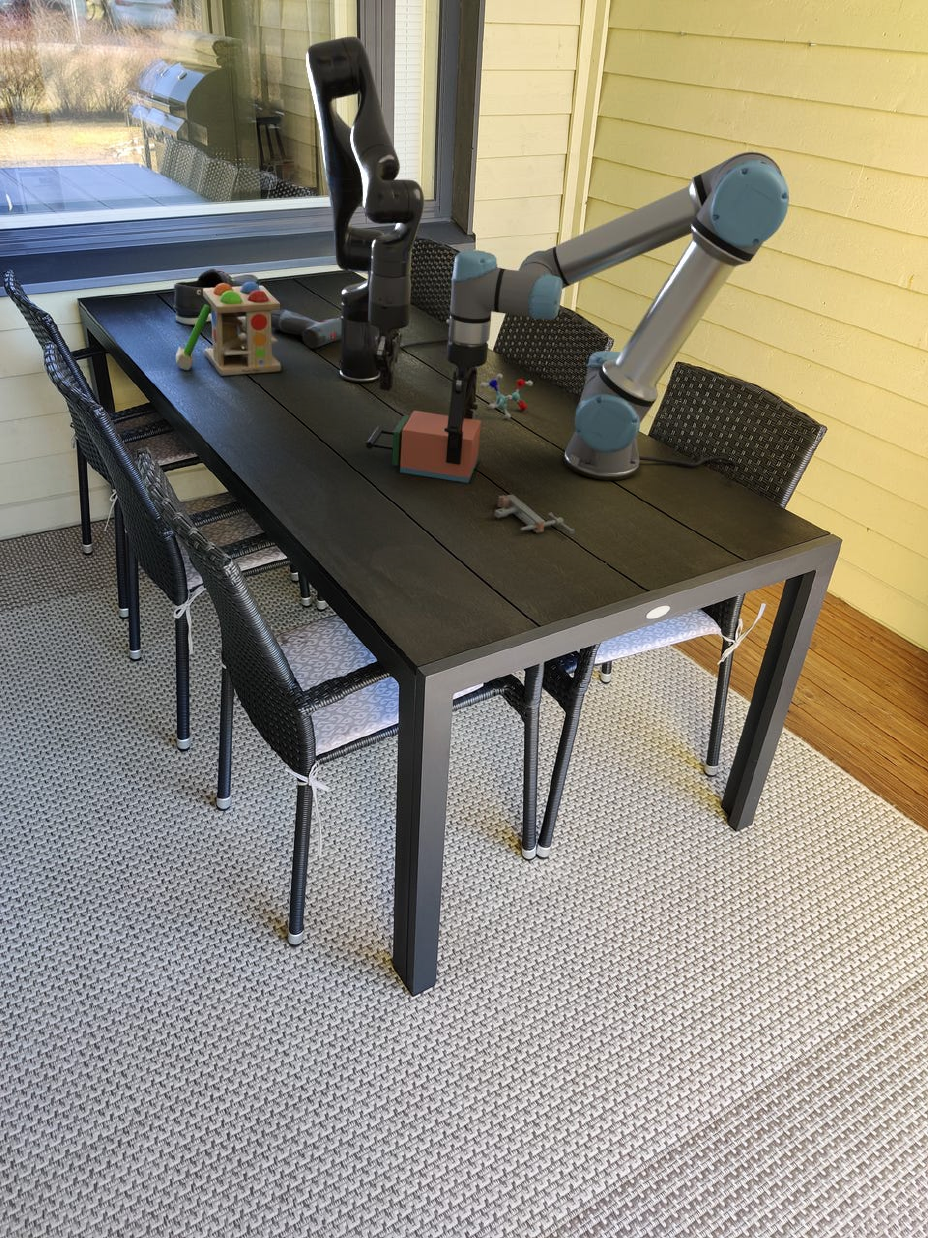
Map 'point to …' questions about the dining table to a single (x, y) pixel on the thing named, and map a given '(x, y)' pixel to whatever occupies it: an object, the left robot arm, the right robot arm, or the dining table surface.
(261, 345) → the pounding bench toy
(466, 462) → the cabinet
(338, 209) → the left robot arm
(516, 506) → the clamp
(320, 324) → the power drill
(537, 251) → the right robot arm
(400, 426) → the drawer
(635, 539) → the dining table surface
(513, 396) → the molecular model
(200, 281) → the boat shoe
